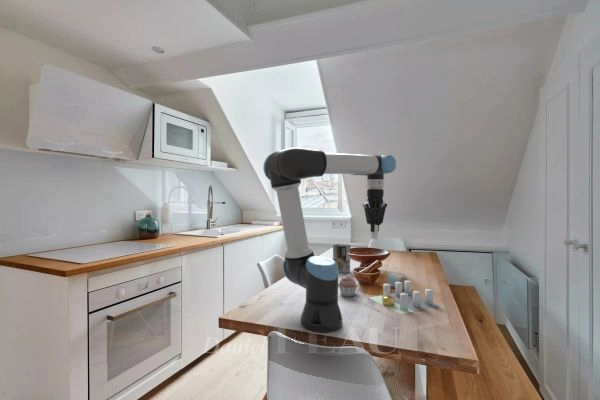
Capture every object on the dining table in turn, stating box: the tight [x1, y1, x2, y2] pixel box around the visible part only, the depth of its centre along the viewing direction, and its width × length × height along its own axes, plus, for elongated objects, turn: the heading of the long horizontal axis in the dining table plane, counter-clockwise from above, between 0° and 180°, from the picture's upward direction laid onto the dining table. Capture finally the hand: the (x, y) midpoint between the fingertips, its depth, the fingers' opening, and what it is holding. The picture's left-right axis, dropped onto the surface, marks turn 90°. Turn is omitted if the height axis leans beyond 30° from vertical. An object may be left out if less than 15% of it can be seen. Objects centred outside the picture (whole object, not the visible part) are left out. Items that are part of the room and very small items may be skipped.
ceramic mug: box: [385, 272, 409, 291], centre depth 150 cm, size 11×8×8 cm
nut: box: [382, 295, 395, 307], centre depth 126 cm, size 5×5×3 cm
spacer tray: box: [368, 280, 441, 315], centre depth 129 cm, size 22×20×7 cm
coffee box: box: [332, 243, 351, 274], centre depth 183 cm, size 9×6×16 cm
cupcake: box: [338, 273, 359, 298], centre depth 140 cm, size 9×9×10 cm
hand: (374, 238), depth 141 cm, fingers closed
